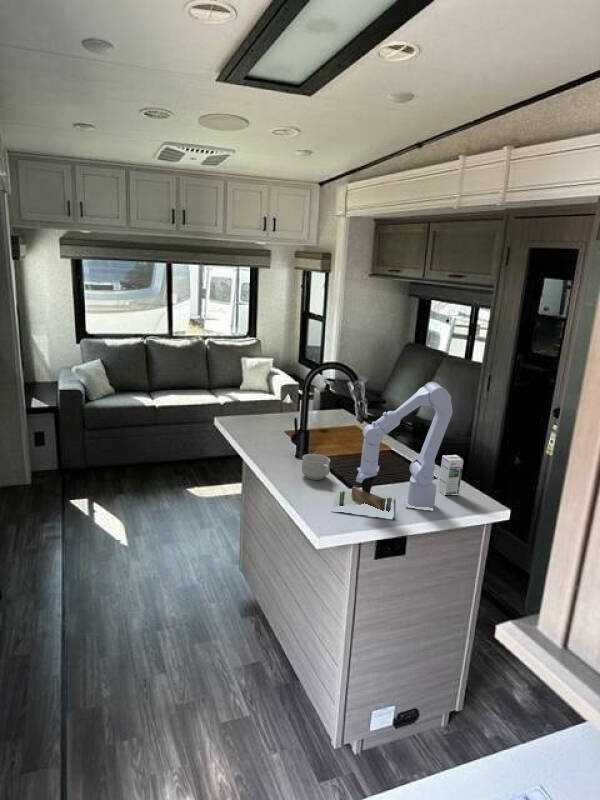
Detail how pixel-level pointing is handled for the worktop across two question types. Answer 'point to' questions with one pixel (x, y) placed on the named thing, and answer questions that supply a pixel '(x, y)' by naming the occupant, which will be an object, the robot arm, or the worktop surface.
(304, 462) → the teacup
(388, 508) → the dark gray metal cylinder
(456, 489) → the syrup box
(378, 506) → the wooden block
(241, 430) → the worktop surface
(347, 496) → the gate mat
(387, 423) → the robot arm
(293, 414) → the worktop surface
